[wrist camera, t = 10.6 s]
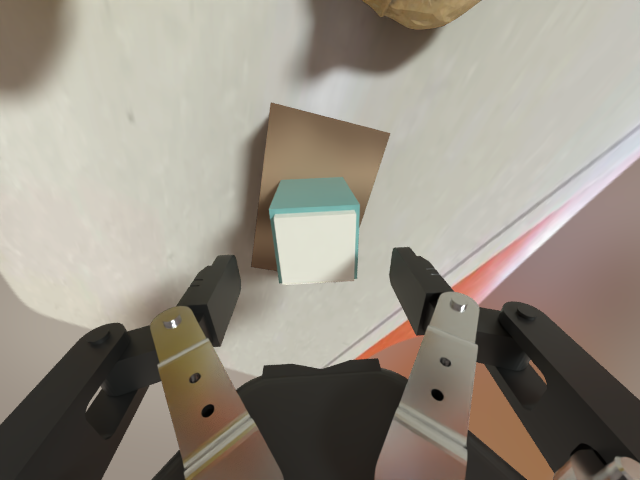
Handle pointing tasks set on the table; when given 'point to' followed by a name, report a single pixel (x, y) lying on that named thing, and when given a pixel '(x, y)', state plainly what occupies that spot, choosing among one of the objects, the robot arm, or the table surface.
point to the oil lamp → (421, 11)
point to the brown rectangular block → (313, 163)
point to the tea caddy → (315, 231)
